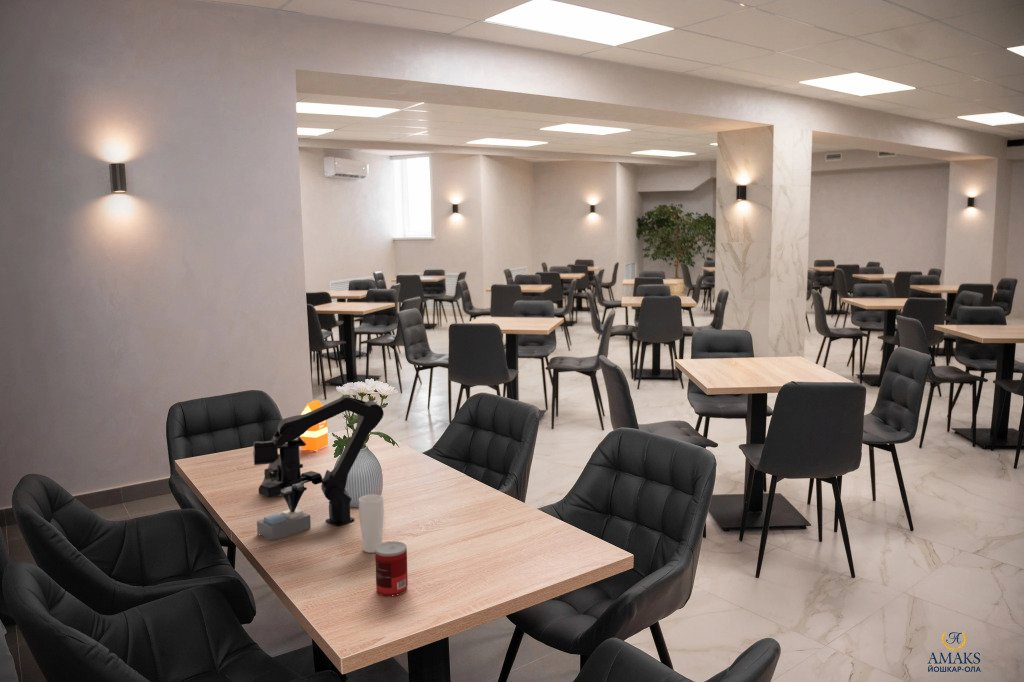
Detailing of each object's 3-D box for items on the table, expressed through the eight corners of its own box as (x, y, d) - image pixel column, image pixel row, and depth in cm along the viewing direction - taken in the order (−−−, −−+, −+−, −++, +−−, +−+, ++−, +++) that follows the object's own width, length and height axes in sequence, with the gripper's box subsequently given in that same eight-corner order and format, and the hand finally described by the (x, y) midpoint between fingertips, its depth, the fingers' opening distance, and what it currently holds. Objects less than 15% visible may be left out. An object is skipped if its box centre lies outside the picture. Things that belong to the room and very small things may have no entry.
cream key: (303, 523, 229) (302, 511, 228) (290, 527, 225) (290, 515, 225) (294, 520, 231) (294, 507, 231) (282, 524, 228) (281, 511, 228)
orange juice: (300, 450, 315) (298, 403, 312) (312, 445, 323) (310, 399, 321) (316, 451, 312) (315, 404, 310) (328, 446, 321) (326, 400, 318)
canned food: (409, 582, 192) (408, 540, 190) (405, 596, 184) (404, 553, 182) (378, 582, 191) (377, 541, 190) (374, 597, 183) (372, 554, 182)
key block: (310, 527, 229) (310, 515, 228) (272, 540, 219) (272, 527, 218) (295, 521, 234) (294, 509, 233) (257, 534, 224) (256, 521, 223)
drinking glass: (379, 555, 208) (377, 503, 206) (356, 553, 209) (354, 501, 207) (388, 546, 215) (386, 494, 213) (365, 544, 216) (364, 493, 214)
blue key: (286, 529, 224) (285, 516, 224) (273, 533, 221) (272, 520, 220) (277, 525, 227) (277, 513, 226) (264, 530, 224) (263, 517, 223)
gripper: (300, 449, 238) (302, 497, 240) (247, 463, 224) (249, 514, 226) (322, 456, 231) (324, 505, 233) (268, 470, 217) (270, 522, 219)
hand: (292, 511), depth 228 cm, fingers closed, pressing on cream key
